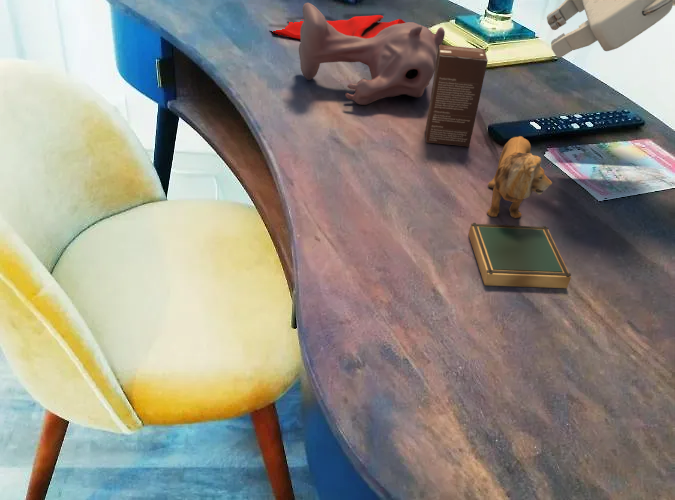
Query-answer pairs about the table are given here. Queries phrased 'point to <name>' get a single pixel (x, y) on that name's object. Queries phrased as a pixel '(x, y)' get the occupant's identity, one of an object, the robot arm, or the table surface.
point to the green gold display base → (518, 256)
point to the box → (455, 94)
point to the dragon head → (372, 56)
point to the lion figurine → (517, 176)
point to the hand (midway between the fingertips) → (551, 36)
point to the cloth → (346, 27)
